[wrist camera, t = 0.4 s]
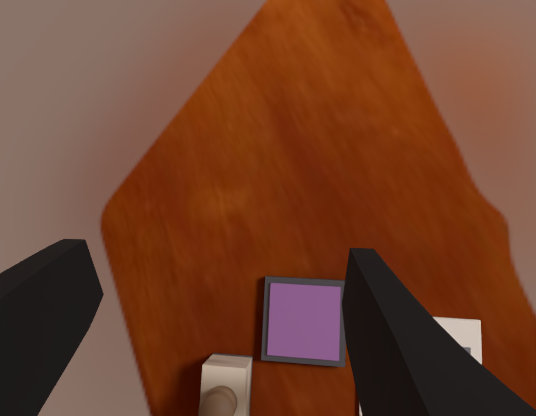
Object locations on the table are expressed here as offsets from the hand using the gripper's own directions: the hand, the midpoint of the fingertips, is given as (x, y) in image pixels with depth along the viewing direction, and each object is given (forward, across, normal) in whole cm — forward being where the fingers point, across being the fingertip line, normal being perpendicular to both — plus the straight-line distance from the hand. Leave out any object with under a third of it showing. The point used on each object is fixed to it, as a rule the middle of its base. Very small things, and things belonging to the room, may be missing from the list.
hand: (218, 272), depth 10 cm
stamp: (+13, +3, +27) cm, 30 cm away
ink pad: (+17, -4, +21) cm, 27 cm away
